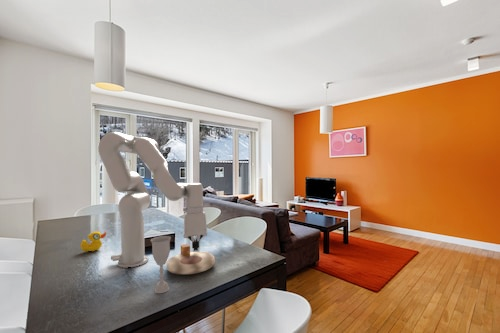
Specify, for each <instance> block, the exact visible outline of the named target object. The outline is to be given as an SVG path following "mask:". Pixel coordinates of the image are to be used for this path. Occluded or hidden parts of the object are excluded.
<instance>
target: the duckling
mask: <svg viewBox="0 0 500 333" xmlns="http://www.w3.org/2000/svg"><path fill="white" fill-rule="evenodd" d="M106 236H107V232H106V231H105V232H104V233H101V232H100V231H93V232H91V233H89V234H88V236H87V238H88V240H89V241H91V243H88V242H87V240H86V239H82V241H81V243H80V248H81V250H82V251H83V252H86V253H87V252H88V251H92V252H96V251H95V250H97V251H98V250H100V249H101V247H102V245H103V242H102V240H101V239H104V238H105V237H106ZM88 253H89V252H88Z"/></svg>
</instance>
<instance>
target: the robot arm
mask: <svg viewBox="0 0 500 333" xmlns="http://www.w3.org/2000/svg"><path fill="white" fill-rule="evenodd" d="M97 147H98V148H97V149H98V155H99V157H100V159H101V161H102V164H103V165H104V167H105V171H106V172H107V175H108V178H109V180H110V182H111V185H112V187H113V189H114V190H115V191H116V192H118V193H126V194H125V195H124V196H122V198H121V199H119V201H118V213H119V219H120V240H121V243H120V246H121V249H120V250H121V253H119V254H112V255H111V256H110V260H111V261H112V262H116V261H117V266H118V267H119V268H122V267H123V268H125V269H126V268H127V269H128V267H131V268H135V267H140V266H143V265H144V264H146V263H147V262H148V261H149V256H147V255H146V252H145V250H146V249H145V221H144V220H145V219H144V215H143V211H144V210H147V209H148V208H149V207H150V205H151V196H150V193H149V191H148V188H147V186H146V185H145V181H144V179H143V178H142V176H141V175H140V173H138V172H136V171H132V170H130V169H129V167H128V164H127V162H126V160H125V158H124V157H123V155H122V154H121V152H122V153H128V154H135V155H137V156H138V157H139V159H140V160H141V162H143V163H144V165H145V166H146V167H147V169H148V170H149V172H150V173H151V176H152V178H153V182H154V183H155V185H156V186H157V188H158V190H160V192H161V193H162V195H163V196H164V197H165V198H166V199H168V200H169V201H171V202H176V201H179V200H181V199H186V200H185V201H186V202H185V204H186V206H185V207H183V208H182V211H183V212H185V213H184V216H183V217H184V219H183V236H182V237H183V238H184V239H187V240H188V239H189V240H190V241H191V247H192V249H193V252H196V251H198V249H199V248H200V241H201V240H202V238H204V237H207V236H208V233H207V231H208V228H207V226H208V225H207V216H206V212H205V211H204V191H203V190H204V188H203V187H204V186H203V184H202V183H201V182H191V183H189V182H188V183H187V182H177V181H176V180H175V179H174V178H173V176H172V174H171V173H170V171H169V167H168V165H169V164H168V160H166V158H165V156H163V154H162V153H161V152H160V149H159V148H160V147H159V144H158V142H157V141H156V140H155V139H152V138H150V137H145V136H141V137H140V136H134V135H129V134H126V133H123V132H117V131H111V132H108V133H105V135H103V136H102V137H101V139H100V140H99V142H98V146H97ZM195 237H196V239H195ZM139 265H140V266H139Z"/></svg>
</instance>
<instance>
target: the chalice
mask: <svg viewBox="0 0 500 333" xmlns="http://www.w3.org/2000/svg"><path fill="white" fill-rule="evenodd" d="M171 238H172V236H170V235H160V236H155V237H152V238H151V239H150V242H151V245H152V246H151V247H152V248H151V250H152V252H151V253H152V258H153V259H154V261H155V263H156V266H159V276H158V277H159V281H158V282H157V283H156V285H155V288H154V292H155V293H156V294H162V293H167V291H170V286H169V284H168V282H167V281H165V280H164V277H165V274H164V271H165V270H164V268H163V267H164V265H166V264H167V261H168V260H169V255H170V252H171V243H170V242H171Z"/></svg>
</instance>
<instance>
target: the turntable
mask: <svg viewBox="0 0 500 333" xmlns="http://www.w3.org/2000/svg"><path fill="white" fill-rule="evenodd" d="M215 263H216V258H215V255H214V254H212V253H210V252H207V251H191V246H190V245H189V244H188V243H185V244H180V253H179V254H177V255H174V256H172V257H171V258H168V259H167V261H166V270H167V271H169V272H170V273H172V274H176V275H195V274H198V273H202V272H205V271H207V270H210V269H211V268H212V267H213V266H215Z"/></svg>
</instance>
